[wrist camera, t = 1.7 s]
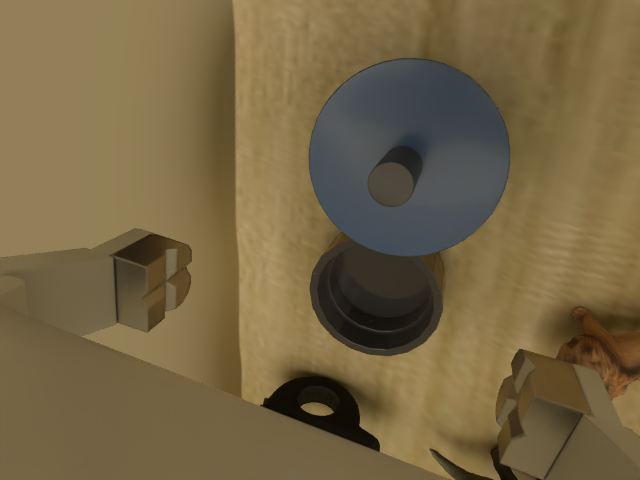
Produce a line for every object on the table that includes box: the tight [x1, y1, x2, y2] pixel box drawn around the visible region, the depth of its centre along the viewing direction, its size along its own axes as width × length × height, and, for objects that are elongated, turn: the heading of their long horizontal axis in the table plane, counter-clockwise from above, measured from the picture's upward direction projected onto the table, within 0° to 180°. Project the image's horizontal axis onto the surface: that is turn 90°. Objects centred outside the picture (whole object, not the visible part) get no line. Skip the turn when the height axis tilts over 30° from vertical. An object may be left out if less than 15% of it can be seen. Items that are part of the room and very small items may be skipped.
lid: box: [309, 58, 510, 256], centre depth 24 cm, size 12×12×6 cm
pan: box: [310, 232, 445, 356], centre depth 37 cm, size 11×11×5 cm
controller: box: [260, 377, 380, 452], centre depth 42 cm, size 4×12×10 cm, turn 83°
